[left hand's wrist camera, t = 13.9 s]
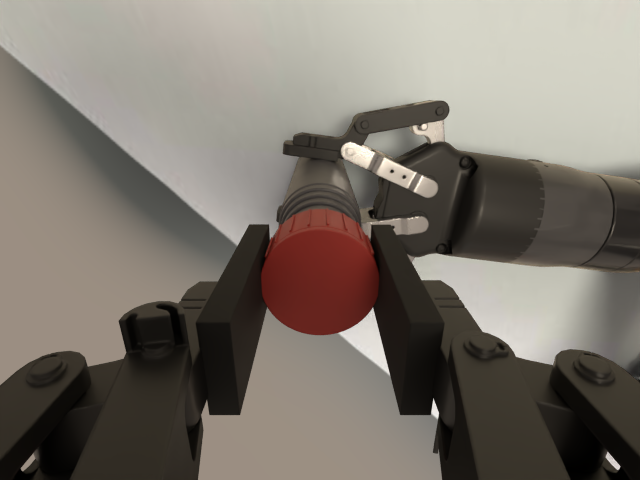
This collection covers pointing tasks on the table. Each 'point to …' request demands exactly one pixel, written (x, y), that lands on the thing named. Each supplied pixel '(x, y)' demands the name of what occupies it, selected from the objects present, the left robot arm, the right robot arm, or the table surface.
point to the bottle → (320, 189)
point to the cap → (320, 273)
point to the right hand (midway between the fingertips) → (282, 181)
